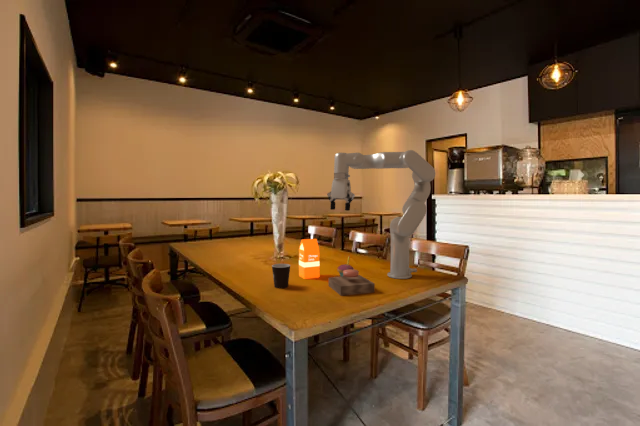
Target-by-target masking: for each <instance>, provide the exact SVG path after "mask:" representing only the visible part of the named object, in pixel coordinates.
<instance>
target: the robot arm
mask: <svg viewBox="0 0 640 426" xmlns="http://www.w3.org/2000/svg"><path fill="white" fill-rule="evenodd" d="M333 163H334V165H333V166H334V167H333V179H332V183H331V189H330V191H329V192H327V193H326V194H327V198H328V200H329V202H330V207H329V208H330V210H333V211H334V210H336V200H337V199H340V200H343V199H344V201H345V204H344V206H345V207H344V210H345V211H346V212H347V211H348V212H349V211H350V210H351V203H352V202H353V200H354V198H355V197H356V196H355V193H354V192H352V189H351V188H352V187H351V181H350V179H349V178H350V177H351V175H350V174H349V173H350V172H349V171H350V169H349V168H351V169H354V170H361V169H362V170H366V169H367V170H368V169H370V170H371V169H373V170H374V169H378V170H380V169H381V170H382V169H409V170H411V172H412V174H411V177H412V180H413V182H414V186H413V189H412V191H411V193H410V195H409V196H408V198H407V199H406V200H405V202H404V204H403V205H402V213H403V214H402V216H397V217H394V218H393V219H391V221H390V224H389V233H390V271H389V272H387V274H386V275H387V276H388V277H389V278H391V279H399V280H405V279H411V278H413V277H412V276H413V275H412V273H417V272H418V269H417V268H412V267H410V237H411V236H412V235H413V234H414V233H416V230H417V229H418V228H419V226H420V225H421V223H422V221H423V219H424V218H425V216H426V214H427V210H428V209H427V204H426V201H427V199H428V198H429V196H430V194H431V188H432V187H431V182H432V181H434V179H435V177H436V169H435V167H433V166H432V165H431V164H430V163H429V162H428V161H427V160H426V159H425V158H423V157H422V155H420V154H419V153H418V152H417V151H415V150H412V149H407V150H405V151H382V152H381V151H380V152H376V153H372V154H363V153H360V152H351V153H350V152H337V153H335V154H334V162H333Z"/></svg>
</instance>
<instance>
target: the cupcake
mask: <svg viewBox="0 0 640 426" xmlns="http://www.w3.org/2000/svg"><path fill="white" fill-rule="evenodd" d="M349 263H350V255H349V256H348V257H347V263H346V264H341V265H339V266H338V267H337V269H336V271H337V272H338V273H339V277H341V276H343V271H344V270H348V269H353V270H355V268H354V267H353V266H352V265H351V264H349Z"/></svg>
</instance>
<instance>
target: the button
mask: <svg viewBox="0 0 640 426" xmlns="http://www.w3.org/2000/svg"><path fill="white" fill-rule="evenodd" d="M358 275H359V270H358V269H354V270H353V269H348V270H344V271H343V276H345V277H358Z"/></svg>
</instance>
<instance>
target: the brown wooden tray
mask: <svg viewBox="0 0 640 426" xmlns="http://www.w3.org/2000/svg"><path fill="white" fill-rule="evenodd" d="M375 285H376V284H375V282H373V281H371V280H369V279H367V278H366V277H364V276H362V275H360V274H358V277H345V276H334V277H333V276H331V277H328V287H329V288H331V289H332V290H333V291H335V292H336V293H337V294H338V295H340V296H350V295H352V296H353V295H359V294H360V295H361V294H371V293H373V294H374V293H375Z"/></svg>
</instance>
